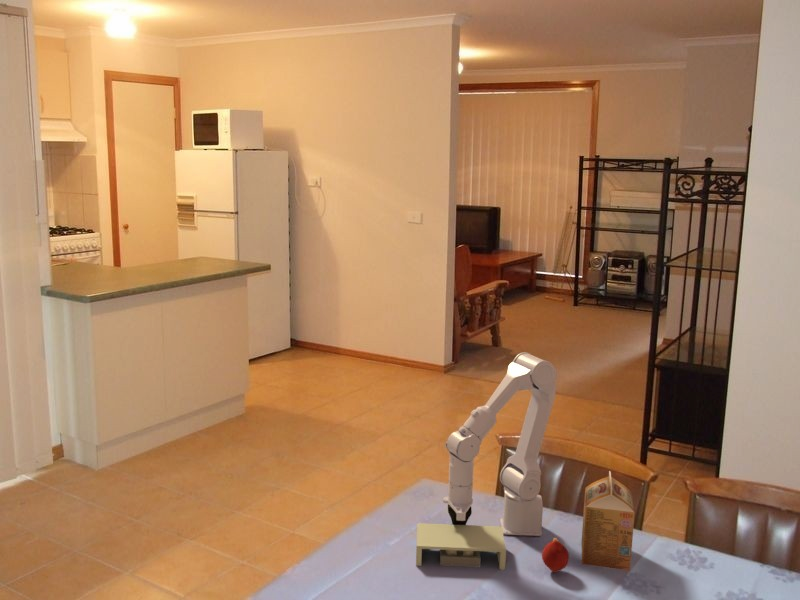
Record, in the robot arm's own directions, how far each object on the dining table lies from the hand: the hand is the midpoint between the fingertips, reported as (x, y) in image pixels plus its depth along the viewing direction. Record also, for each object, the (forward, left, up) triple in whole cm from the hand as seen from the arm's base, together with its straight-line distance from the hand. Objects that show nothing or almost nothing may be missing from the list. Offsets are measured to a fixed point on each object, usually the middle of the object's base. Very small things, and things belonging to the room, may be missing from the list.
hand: (458, 535), depth 184 cm
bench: (0, +7, -1) cm, 7 cm away
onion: (-21, +13, -2) cm, 24 cm away
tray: (0, +6, -2) cm, 7 cm away
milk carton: (-34, +5, -2) cm, 34 cm away
